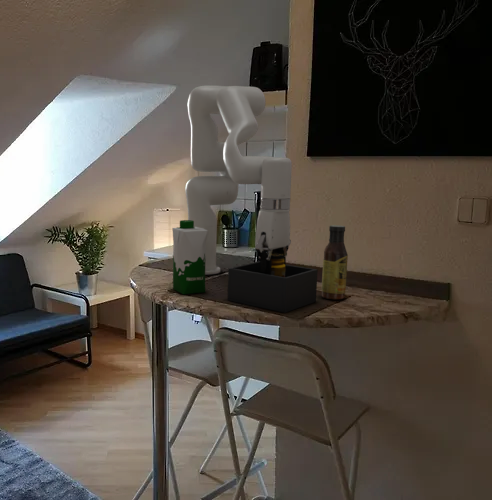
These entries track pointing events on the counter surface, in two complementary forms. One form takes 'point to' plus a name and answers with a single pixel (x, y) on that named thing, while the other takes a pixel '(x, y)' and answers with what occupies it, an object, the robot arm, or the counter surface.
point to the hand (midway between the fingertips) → (272, 272)
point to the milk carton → (189, 258)
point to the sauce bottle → (335, 265)
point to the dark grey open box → (272, 287)
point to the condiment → (277, 264)
